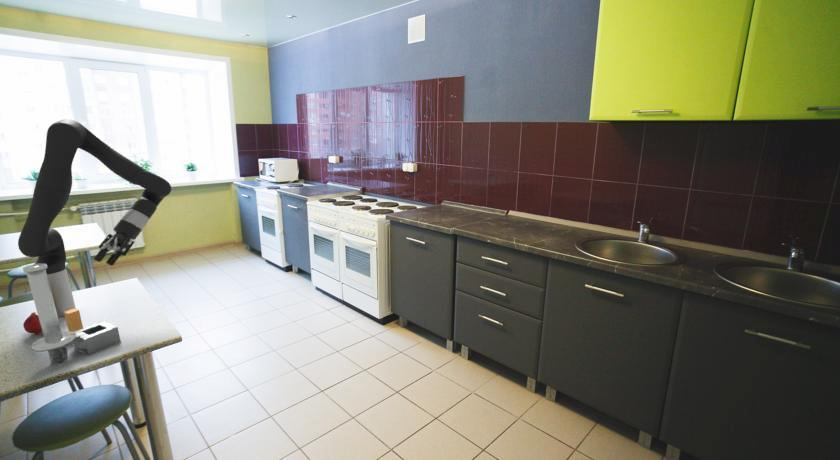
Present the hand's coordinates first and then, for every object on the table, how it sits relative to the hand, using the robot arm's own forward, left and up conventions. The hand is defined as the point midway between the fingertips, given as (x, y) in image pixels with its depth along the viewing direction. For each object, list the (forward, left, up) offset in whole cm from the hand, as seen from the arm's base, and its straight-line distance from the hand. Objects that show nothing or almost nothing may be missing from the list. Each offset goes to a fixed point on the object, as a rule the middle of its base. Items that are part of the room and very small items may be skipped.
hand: (102, 262), depth 140 cm
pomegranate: (-13, -18, -23) cm, 32 cm away
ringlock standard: (+14, -17, -23) cm, 31 cm away
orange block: (0, -12, -23) cm, 26 cm away
